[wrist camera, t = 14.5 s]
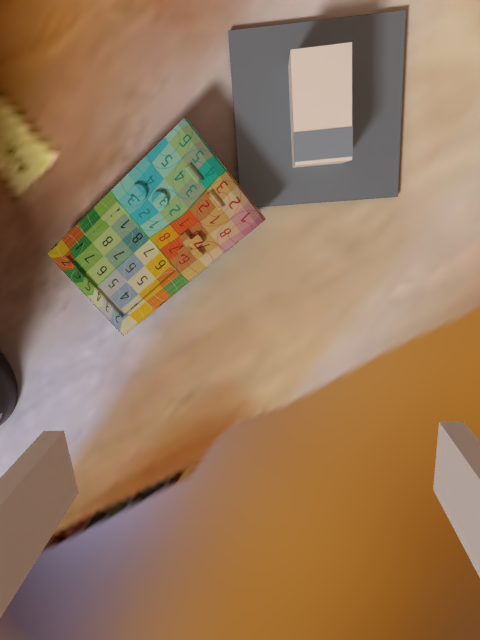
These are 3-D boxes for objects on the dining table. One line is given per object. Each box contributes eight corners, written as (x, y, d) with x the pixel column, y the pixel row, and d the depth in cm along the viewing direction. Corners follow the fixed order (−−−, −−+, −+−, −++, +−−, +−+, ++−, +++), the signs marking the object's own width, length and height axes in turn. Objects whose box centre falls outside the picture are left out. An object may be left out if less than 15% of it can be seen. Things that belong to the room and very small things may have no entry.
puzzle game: (264, 221, 38) (120, 339, 44) (266, 216, 43) (135, 324, 49) (181, 115, 36) (41, 255, 42) (193, 121, 40) (64, 247, 46)
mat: (241, 208, 43) (241, 208, 43) (228, 32, 38) (228, 30, 38) (396, 196, 42) (397, 196, 41) (403, 12, 37) (405, 9, 36)
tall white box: (287, 66, 38) (289, 49, 34) (342, 59, 38) (352, 41, 33) (292, 167, 41) (294, 165, 36) (343, 162, 41) (352, 159, 36)
